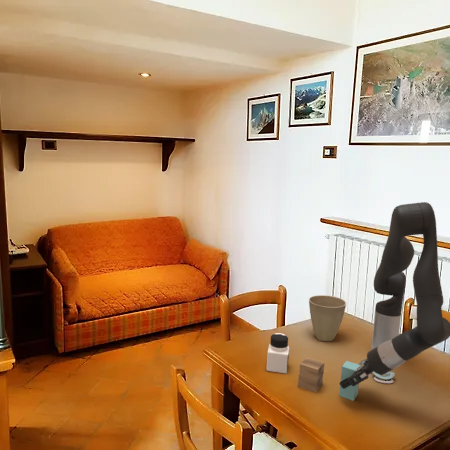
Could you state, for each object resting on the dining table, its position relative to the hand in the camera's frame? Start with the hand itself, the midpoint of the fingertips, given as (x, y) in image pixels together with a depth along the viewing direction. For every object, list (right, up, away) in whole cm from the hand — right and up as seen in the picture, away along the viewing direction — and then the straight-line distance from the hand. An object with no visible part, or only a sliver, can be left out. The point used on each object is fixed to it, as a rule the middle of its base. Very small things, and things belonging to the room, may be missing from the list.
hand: (345, 380), depth 135 cm
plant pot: (+3, +2, +43) cm, 43 cm away
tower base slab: (-10, -4, +5) cm, 12 cm away
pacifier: (+16, -4, +11) cm, 19 cm away
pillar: (+1, -5, 0) cm, 5 cm away
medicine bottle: (-20, -2, +16) cm, 25 cm away
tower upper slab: (-10, 0, +4) cm, 11 cm away
